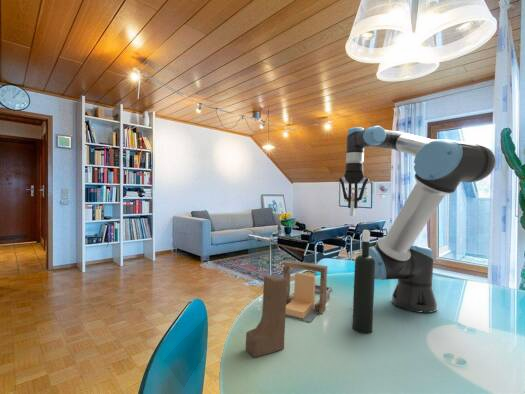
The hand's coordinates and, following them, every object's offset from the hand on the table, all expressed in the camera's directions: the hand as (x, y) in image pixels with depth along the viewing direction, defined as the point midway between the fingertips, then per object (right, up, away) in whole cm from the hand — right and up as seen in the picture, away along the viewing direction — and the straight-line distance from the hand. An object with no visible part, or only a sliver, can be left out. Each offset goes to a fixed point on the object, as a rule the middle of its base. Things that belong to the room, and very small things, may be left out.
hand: (352, 215), depth 127 cm
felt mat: (-28, -31, -31) cm, 52 cm away
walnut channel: (-23, -31, -20) cm, 44 cm away
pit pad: (-16, -32, -6) cm, 36 cm away
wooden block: (-40, -30, -55) cm, 75 cm away
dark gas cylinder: (-10, -32, -41) cm, 53 cm away
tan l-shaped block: (-28, -31, -30) cm, 51 cm away
